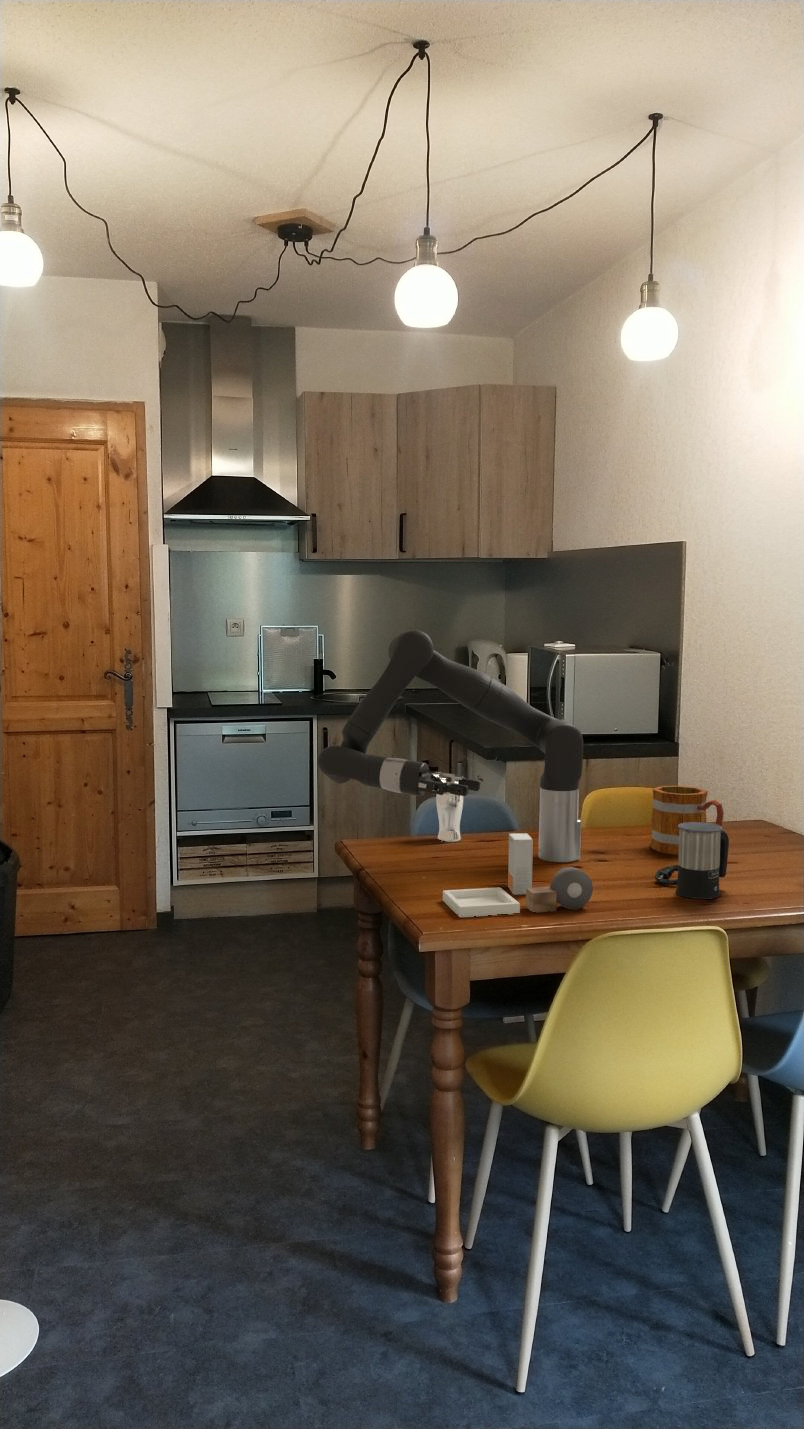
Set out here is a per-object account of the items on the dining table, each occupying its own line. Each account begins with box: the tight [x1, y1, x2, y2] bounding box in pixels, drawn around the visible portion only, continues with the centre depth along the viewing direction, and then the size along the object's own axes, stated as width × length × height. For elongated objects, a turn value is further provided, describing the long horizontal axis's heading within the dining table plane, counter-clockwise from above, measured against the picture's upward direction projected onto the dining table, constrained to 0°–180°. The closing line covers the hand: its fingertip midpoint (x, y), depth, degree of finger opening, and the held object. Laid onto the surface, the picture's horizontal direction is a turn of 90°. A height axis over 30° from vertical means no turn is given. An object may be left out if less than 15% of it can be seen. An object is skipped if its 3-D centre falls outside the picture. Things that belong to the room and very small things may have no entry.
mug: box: [650, 785, 725, 856], centre depth 273 cm, size 20×14×15 cm
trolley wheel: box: [549, 866, 594, 910], centre depth 223 cm, size 8×4×8 cm, turn 104°
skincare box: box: [507, 832, 534, 896], centre depth 235 cm, size 6×4×12 cm
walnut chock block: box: [525, 886, 557, 913], centre depth 222 cm, size 5×4×4 cm
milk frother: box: [654, 822, 730, 900], centre depth 237 cm, size 14×16×15 cm
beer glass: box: [435, 780, 464, 843], centre depth 284 cm, size 7×7×15 cm
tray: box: [442, 886, 521, 918], centre depth 223 cm, size 12×12×2 cm
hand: (473, 788), depth 237 cm, fingers open, 8 cm apart
